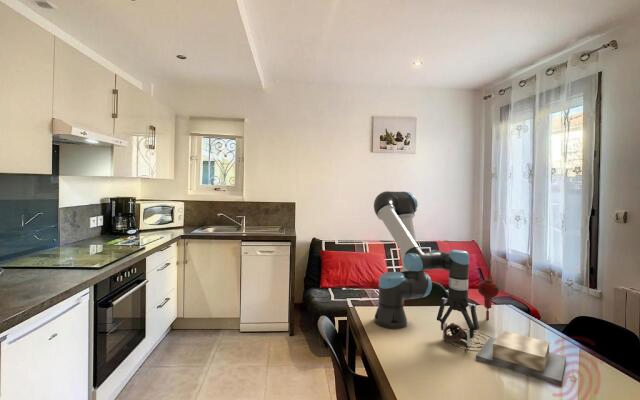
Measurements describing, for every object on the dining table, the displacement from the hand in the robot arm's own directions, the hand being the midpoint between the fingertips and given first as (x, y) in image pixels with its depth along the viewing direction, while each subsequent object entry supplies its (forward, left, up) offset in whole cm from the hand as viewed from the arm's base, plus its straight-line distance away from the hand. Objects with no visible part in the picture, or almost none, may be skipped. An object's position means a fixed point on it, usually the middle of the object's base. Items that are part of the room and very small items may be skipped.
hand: (456, 341), depth 140 cm
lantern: (+3, +38, -1) cm, 38 cm away
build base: (+23, +1, 0) cm, 23 cm away
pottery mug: (-1, 0, 0) cm, 1 cm away
